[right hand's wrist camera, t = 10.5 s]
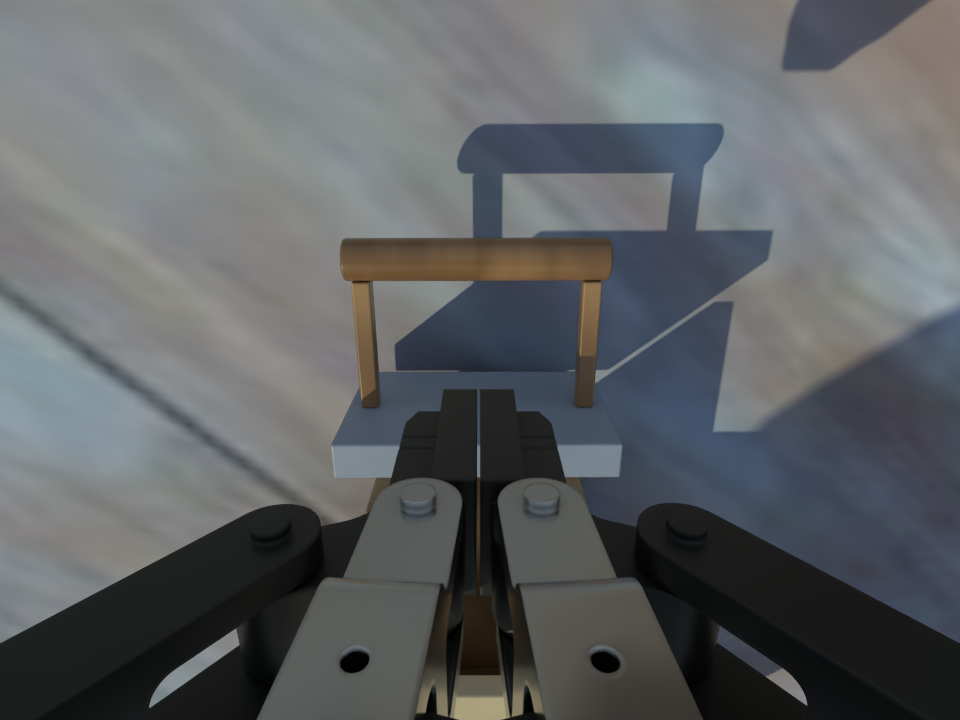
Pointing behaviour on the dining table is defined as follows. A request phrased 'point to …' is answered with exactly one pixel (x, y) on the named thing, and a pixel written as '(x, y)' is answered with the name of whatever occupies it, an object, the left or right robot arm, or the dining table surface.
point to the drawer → (476, 374)
